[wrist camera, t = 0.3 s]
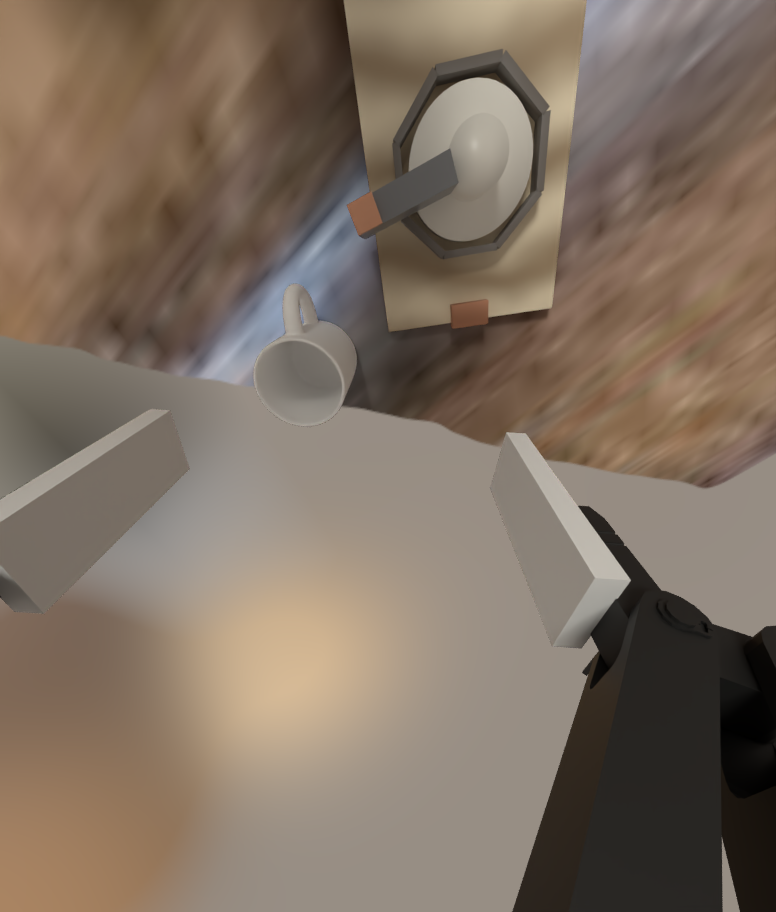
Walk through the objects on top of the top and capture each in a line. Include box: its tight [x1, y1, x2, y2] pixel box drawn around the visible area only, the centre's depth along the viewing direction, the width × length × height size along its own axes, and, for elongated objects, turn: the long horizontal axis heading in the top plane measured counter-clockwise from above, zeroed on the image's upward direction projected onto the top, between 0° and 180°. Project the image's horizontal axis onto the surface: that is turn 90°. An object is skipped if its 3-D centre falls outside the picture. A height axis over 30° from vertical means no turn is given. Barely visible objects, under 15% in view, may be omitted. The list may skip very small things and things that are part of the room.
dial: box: [347, 78, 533, 242], centre depth 25 cm, size 15×10×7 cm, turn 113°
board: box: [344, 0, 587, 332], centre depth 27 cm, size 24×17×3 cm
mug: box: [253, 284, 357, 427], centre depth 32 cm, size 12×8×10 cm
